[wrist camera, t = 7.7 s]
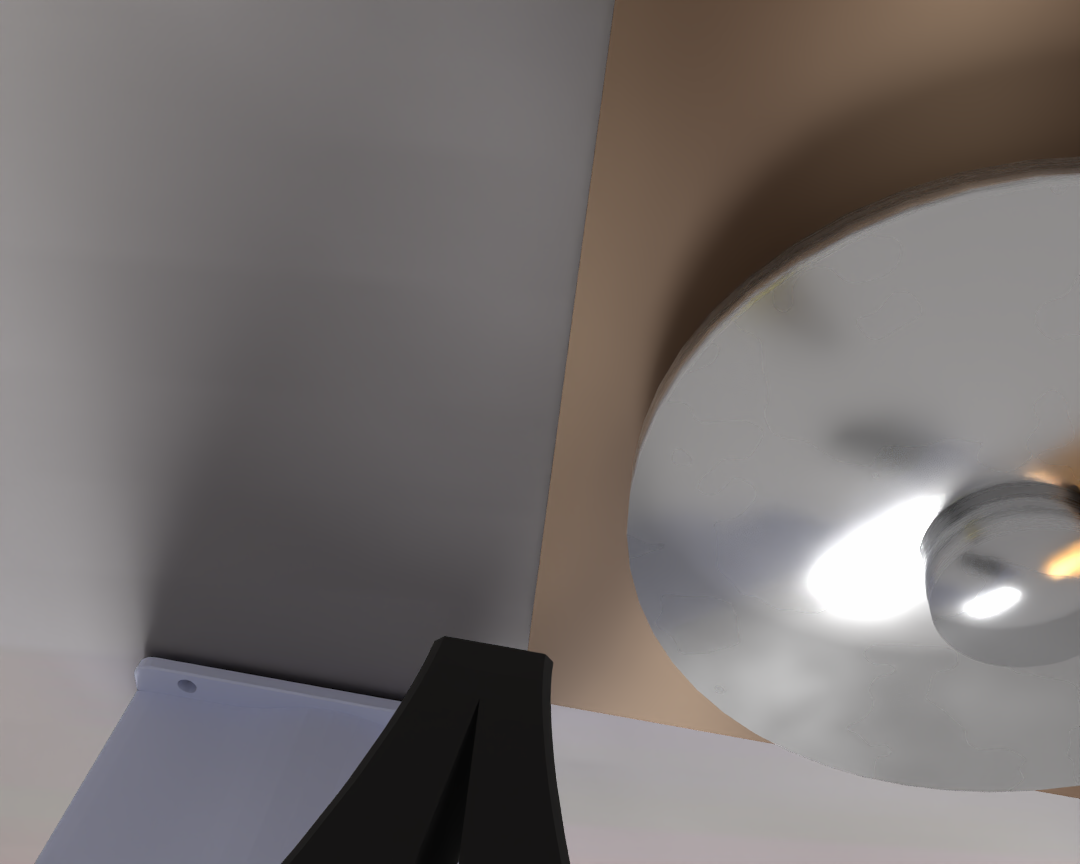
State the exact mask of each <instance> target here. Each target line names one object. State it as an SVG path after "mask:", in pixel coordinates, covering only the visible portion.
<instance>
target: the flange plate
mask: <svg viewBox="0 0 1080 864" xmlns="http://www.w3.org/2000/svg"><path fill="white" fill-rule="evenodd" d="M627 541H628V552H629V562H630V570H631V574H632V578H633V581H634V585H635V589H636V592H637V596H638V600H639V603H640V605H641V607H642V610H643V612H644V614H645V616H646V618H647V621H648V623H649V625H650V627H651V629H652V631H653V634H654V635H655V637H656V638H657V640H658V641H659V643H660V644H661V646H662V647H663V649H664V650H665V652H666V653H667V655H668V656H669V658H670V659H671V661H672V662H673V664H674V665H675V666H676V667H677V668H678V669H679V670H680V671H681V673H682V674H683V675H684V676H685V677H686V678H687V679H688V680H689V682H690V683H691V684H692V685H693V686H694V687H695V688H696V689H697V690H698V691H699V692H700V693H701V694H703V695H704V696H705V697H706V698H707V699H708V700H710V701H711V702H712V703H713V704H714V705H715V706H716V707H718V708H719V709H720V710H721V711H722V712H724V713H725V714H726V715H728V716H729V717H731V718H732V719H734V720H735V721H737V722H738V723H740V724H741V725H743V726H744V727H746V728H747V729H749V730H750V731H752V732H753V733H755V734H757V735H759V736H761V737H763V738H765V739H766V740H768V741H770V742H772V743H774V744H776V745H778V746H780V747H782V748H784V749H786V750H788V751H790V752H792V753H795V754H797V755H800V756H802V757H805V758H807V759H810V760H812V761H815V762H817V763H820V764H822V765H825V766H829V767H832V768H835V769H839V770H842V771H845V772H849V773H852V774H855V775H859V776H862V777H867V778H872V779H877V780H881V781H886V782H891V783H896V784H901V785H907V786H916V787H924V788H932V789H940V790H953V791H977V792H1006V791H1035V790H1044V789H1053V788H1062V787H1071V786H1080V157H1069V158H1053V159H1038V160H1025V161H1020V162H1014V163H1009V164H1003V165H998V166H992V167H987V168H981V169H976V170H970V171H965V172H961V173H957V174H954V175H951V176H947V177H944V178H941V179H937V180H934V181H931V182H927V183H924V184H921V185H917V186H914V187H911V188H907V189H904V190H901V191H899V192H896V193H894V194H892V195H889V196H887V197H885V198H882V199H880V200H878V201H875V202H873V203H870V204H868V205H866V206H863V207H861V208H859V209H856V210H854V211H852V212H849V213H847V214H845V215H843V216H841V217H839V218H838V219H836V220H834V221H832V222H831V223H829V224H827V225H825V226H824V227H822V228H820V229H818V230H817V231H815V232H813V233H811V234H809V235H808V236H806V237H804V238H802V239H801V240H799V241H797V242H795V243H794V244H792V245H791V246H790V247H788V248H787V249H786V250H784V251H783V252H781V253H780V254H779V255H777V256H776V257H775V258H773V259H772V260H771V261H769V262H768V263H766V264H765V265H764V266H762V267H761V268H760V269H758V270H757V271H756V272H754V273H753V274H751V275H750V276H749V277H748V278H747V279H746V280H745V281H744V282H743V283H742V284H740V285H739V286H738V287H737V288H736V289H735V290H734V291H733V292H732V293H731V294H730V295H729V296H728V297H727V298H726V299H725V300H723V301H722V302H721V303H720V304H719V305H718V306H717V307H716V308H715V309H714V310H713V311H712V312H711V313H710V314H709V316H708V317H707V318H706V319H705V320H704V322H703V323H702V324H701V325H700V327H699V328H698V329H697V330H696V332H695V333H694V334H693V335H692V336H691V338H690V339H689V340H688V341H687V343H686V344H685V345H684V346H683V347H682V349H681V350H680V352H679V354H678V355H677V357H676V359H675V360H674V362H673V364H672V365H671V367H670V368H669V370H668V372H667V373H666V375H665V377H664V378H663V380H662V382H661V383H660V385H659V387H658V389H657V391H656V394H655V396H654V399H653V401H652V403H651V406H650V408H649V410H648V413H647V415H646V418H645V420H644V422H643V425H642V429H641V433H640V437H639V441H638V445H637V449H636V453H635V457H634V462H633V470H632V479H631V488H630V498H629V511H628V524H627Z"/></svg>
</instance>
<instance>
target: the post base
mask: <svg viewBox="0 0 1080 864" xmlns="http://www.w3.org/2000/svg"><path fill="white" fill-rule="evenodd" d="M1069 157H1080V0H615V4H614V11H613V19H612V26H611V34H610V41H609V49H608V56H607V63H606V71H605V78H604V86H603V93H602V101H601V108H600V115H599V123H598V130H597V138H596V145H595V153H594V160H593V168H592V175H591V182H590V190H589V197H588V205H587V212H586V220H585V227H584V234H583V242H582V249H581V257H580V264H579V272H578V279H577V287H576V294H575V301H574V309H573V316H572V324H571V331H570V339H569V346H568V353H567V361H566V368H565V376H564V383H563V391H562V398H561V406H560V413H559V420H558V428H557V435H556V443H555V450H554V458H553V465H552V472H551V480H550V487H549V495H548V502H547V510H546V517H545V525H544V532H543V539H542V547H541V554H540V562H539V569H538V577H537V584H536V592H535V599H534V606H533V614H532V621H531V629H530V636H529V644H528V651H532V652H537V653H543V654H546V655H547V656H548V657H549V658H550V659H551V660H552V661H553V669H552V679H551V704H553V705H559V706H565V707H570V708H576V709H581V710H587V711H593V712H598V713H604V714H609V715H615V716H621V717H626V718H632V719H637V720H643V721H649V722H654V723H660V724H665V725H671V726H676V727H682V728H688V729H693V730H699V731H704V732H710V733H716V734H721V735H727V736H732V737H738V738H744V739H749V740H755V741H760V742H766V743H772V742H770V741H768V740H766V739H765V738H763V737H761V736H759V735H757V734H755V733H753V732H752V731H750V730H749V729H747V728H746V727H744V726H743V725H741V724H740V723H738V722H737V721H735V720H734V719H732V718H731V717H729V716H728V715H726V714H725V713H724V712H722V711H721V710H720V709H719V708H718V707H716V706H715V705H714V704H713V703H712V702H711V701H710V700H708V699H707V698H706V697H705V696H704V695H703V694H701V693H700V692H699V691H698V690H697V689H696V688H695V687H694V686H693V685H692V684H691V683H690V682H689V680H688V679H687V678H686V677H685V676H684V675H683V674H682V673H681V671H680V670H679V669H678V668H677V667H676V666H675V665H674V664H673V662H672V661H671V659H670V658H669V656H668V655H667V653H666V652H665V650H664V649H663V647H662V646H661V644H660V643H659V641H658V640H657V638H656V637H655V635H654V634H653V631H652V629H651V627H650V625H649V623H648V621H647V618H646V616H645V614H644V612H643V610H642V607H641V605H640V603H639V600H638V596H637V592H636V589H635V585H634V581H633V578H632V574H631V570H630V562H629V552H628V541H627V524H628V511H629V498H630V488H631V479H632V470H633V462H634V457H635V453H636V449H637V445H638V441H639V437H640V433H641V429H642V425H643V422H644V420H645V418H646V415H647V413H648V410H649V408H650V406H651V403H652V401H653V399H654V396H655V394H656V391H657V389H658V387H659V385H660V383H661V382H662V380H663V378H664V377H665V375H666V373H667V372H668V370H669V368H670V367H671V365H672V364H673V362H674V360H675V359H676V357H677V355H678V354H679V352H680V350H681V349H682V347H683V346H684V345H685V344H686V343H687V341H688V340H689V339H690V338H691V336H692V335H693V334H694V333H695V332H696V330H697V329H698V328H699V327H700V325H701V324H702V323H703V322H704V320H705V319H706V318H707V317H708V316H709V314H710V313H711V312H712V311H713V310H714V309H715V308H716V307H717V306H718V305H719V304H720V303H721V302H722V301H723V300H725V299H726V298H727V297H728V296H729V295H730V294H731V293H732V292H733V291H734V290H735V289H736V288H737V287H738V286H739V285H740V284H742V283H743V282H744V281H745V280H746V279H747V278H748V277H749V276H750V275H751V274H753V273H754V272H756V271H757V270H758V269H760V268H761V267H762V266H764V265H765V264H766V263H768V262H769V261H771V260H772V259H773V258H775V257H776V256H777V255H779V254H780V253H781V252H783V251H784V250H786V249H787V248H788V247H790V246H791V245H792V244H794V243H795V242H797V241H799V240H801V239H802V238H804V237H806V236H808V235H809V234H811V233H813V232H815V231H817V230H818V229H820V228H822V227H824V226H825V225H827V224H829V223H831V222H832V221H834V220H836V219H838V218H839V217H841V216H843V215H845V214H847V213H849V212H852V211H854V210H856V209H859V208H861V207H863V206H866V205H868V204H870V203H873V202H875V201H878V200H880V199H882V198H885V197H887V196H889V195H892V194H894V193H896V192H899V191H901V190H904V189H907V188H911V187H914V186H917V185H921V184H924V183H927V182H931V181H934V180H937V179H941V178H944V177H947V176H951V175H954V174H957V173H961V172H965V171H970V170H976V169H981V168H987V167H992V166H998V165H1003V164H1009V163H1014V162H1020V161H1025V160H1038V159H1053V158H1069ZM772 744H774V743H772ZM1035 791H1040V792H1046V793H1051V794H1057V795H1063V796H1068V797H1074V798H1079V799H1080V786H1071V787H1062V788H1053V789H1044V790H1035Z"/></svg>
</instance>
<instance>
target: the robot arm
mask: <svg viewBox="0 0 1080 864" xmlns="http://www.w3.org/2000/svg"><path fill="white" fill-rule="evenodd" d="M552 669H553V661H552V660H551V659H550V658H549V657H548V656H547V655H546V654H543V653H537V652H532V651H526V650H520V649H515V648H509V647H503V646H498V645H492V644H486V643H480V642H475V641H469V640H463V639H458V638H452V637H446V636H444V637H442V638H440V639H438V640H436V641H435V642H434V644H433V646H432V648H431V650H430V652H429V654H428V656H427V658H426V660H425V662H424V664H423V666H422V668H421V670H420V671H419V673H418V675H417V677H416V679H415V680H414V682H413V684H412V686H411V687H410V689H409V691H408V692H407V694H406V695H405V697H404V699H403V700H402V702H401V701H396V700H390V699H385V698H379V697H374V696H368V695H363V694H357V693H351V692H346V691H340V690H335V689H329V688H324V687H318V686H313V685H307V684H301V683H296V682H290V681H285V680H279V679H274V678H268V677H263V676H257V675H251V674H246V673H240V672H235V671H229V670H224V669H218V668H213V667H207V666H201V665H196V664H190V663H185V662H179V661H174V660H168V659H163V658H157V657H147V658H144V659H142V660H141V661H140V663H139V664H138V666H137V668H136V669H135V673H134V676H135V681H136V686H137V692H136V693H135V695H134V697H133V698H132V700H131V702H130V704H129V705H128V707H127V709H126V710H125V712H124V714H123V715H122V717H121V719H120V720H119V722H118V724H117V725H116V727H115V729H114V730H113V732H112V734H111V736H110V737H109V739H108V741H107V742H106V744H105V746H104V747H103V749H102V751H101V752H100V754H99V756H98V757H97V759H96V761H95V762H94V764H93V766H92V768H91V769H90V771H89V773H88V774H87V776H86V778H85V779H84V781H83V783H82V784H81V786H80V788H79V789H78V791H77V793H76V794H75V796H74V798H73V800H72V801H71V803H70V805H69V806H68V808H67V810H66V811H65V813H64V815H63V816H62V818H61V820H60V821H59V823H58V825H57V826H56V828H55V830H54V832H53V833H52V835H51V837H50V838H49V840H48V842H47V843H46V845H45V847H44V848H43V850H42V852H41V853H40V855H39V857H38V858H37V860H36V862H35V864H570V861H569V855H568V850H567V845H566V839H565V834H564V827H563V821H562V814H561V808H560V801H559V795H558V788H557V781H556V773H555V764H554V753H553V741H552V728H551V679H552Z"/></svg>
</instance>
